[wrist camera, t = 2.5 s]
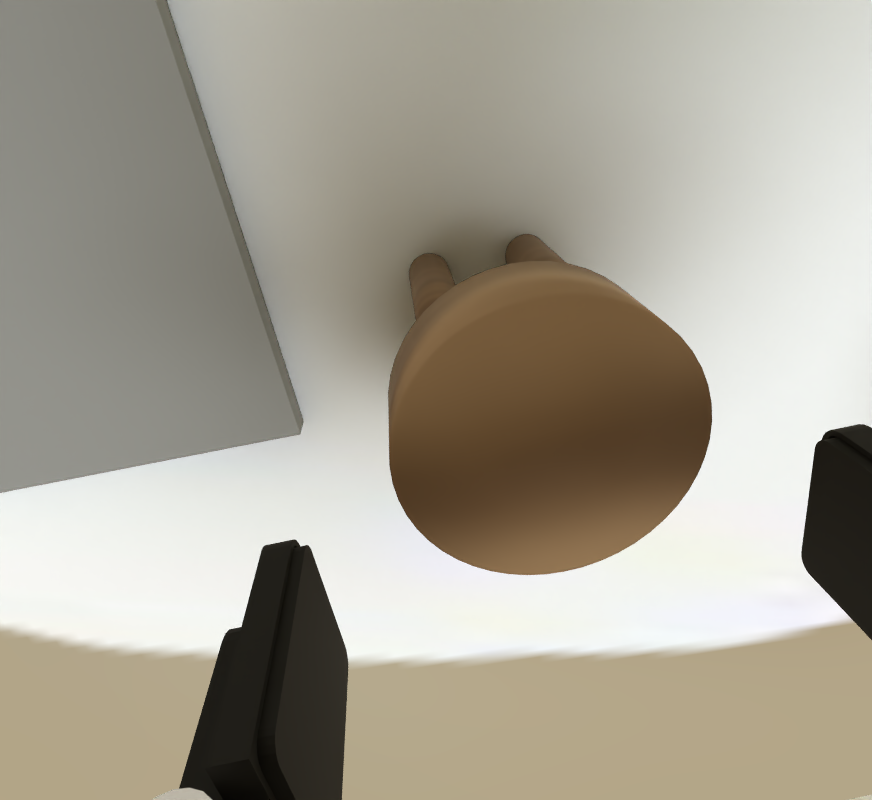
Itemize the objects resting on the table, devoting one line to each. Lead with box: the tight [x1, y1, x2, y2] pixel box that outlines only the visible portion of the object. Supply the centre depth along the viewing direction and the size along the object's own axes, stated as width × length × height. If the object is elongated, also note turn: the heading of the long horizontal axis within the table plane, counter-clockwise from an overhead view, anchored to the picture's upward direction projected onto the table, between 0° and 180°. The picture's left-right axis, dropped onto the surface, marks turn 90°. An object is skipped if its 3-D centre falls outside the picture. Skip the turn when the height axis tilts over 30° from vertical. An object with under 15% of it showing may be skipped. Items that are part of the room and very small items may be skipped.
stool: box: [388, 234, 712, 575], centre depth 17 cm, size 7×7×10 cm
